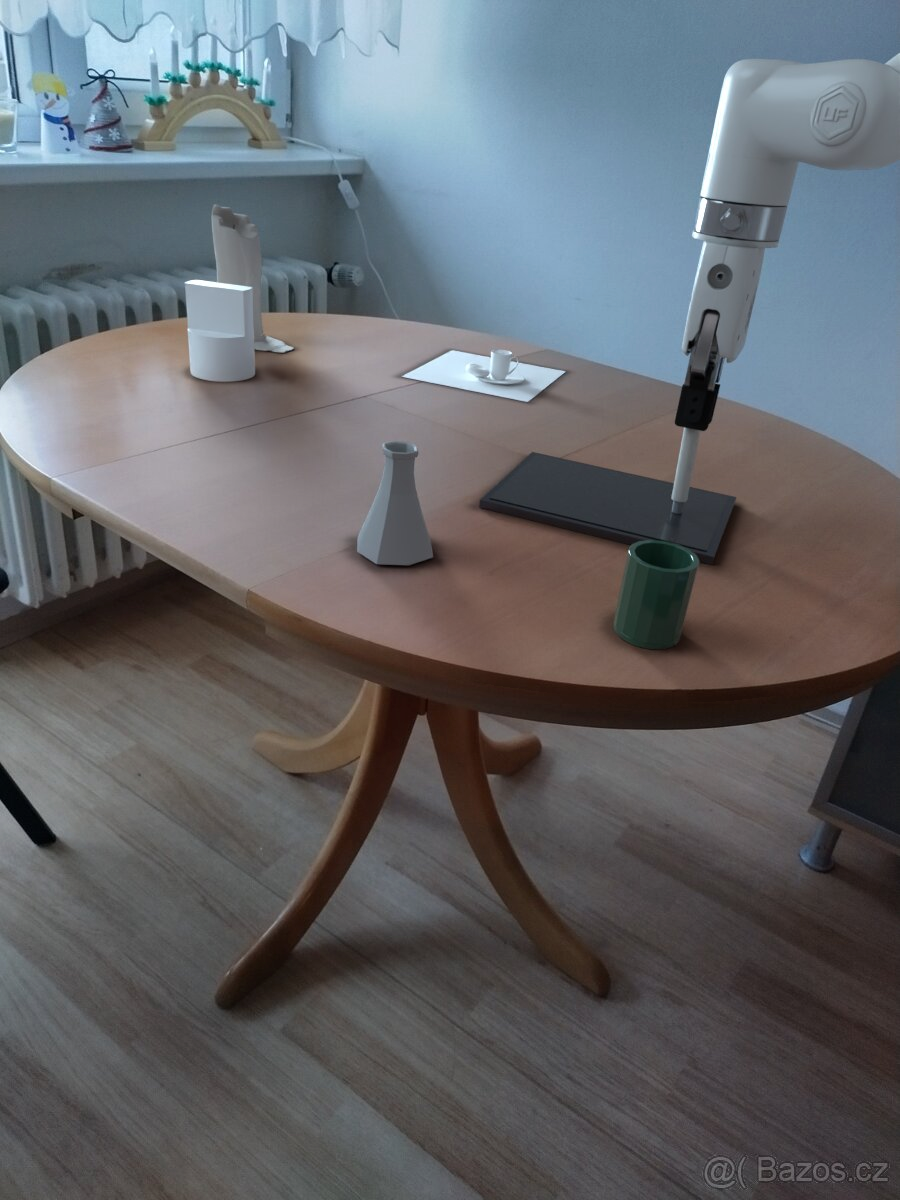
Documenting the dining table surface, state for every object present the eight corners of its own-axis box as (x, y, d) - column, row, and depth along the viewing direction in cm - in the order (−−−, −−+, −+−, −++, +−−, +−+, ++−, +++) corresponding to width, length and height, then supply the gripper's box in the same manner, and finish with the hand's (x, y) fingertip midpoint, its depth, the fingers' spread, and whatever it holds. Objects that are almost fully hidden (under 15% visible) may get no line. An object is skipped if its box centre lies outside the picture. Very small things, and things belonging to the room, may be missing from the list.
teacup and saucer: (459, 379, 130) (462, 352, 128) (478, 368, 137) (481, 342, 135) (514, 390, 128) (517, 362, 126) (531, 378, 134) (534, 351, 132)
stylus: (685, 510, 90) (713, 367, 83) (683, 516, 89) (710, 370, 82) (670, 507, 91) (696, 365, 84) (667, 513, 90) (693, 368, 82)
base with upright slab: (178, 376, 120) (172, 286, 114) (208, 360, 128) (203, 276, 122) (239, 385, 119) (235, 294, 113) (265, 369, 127) (263, 283, 121)
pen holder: (685, 625, 72) (704, 550, 68) (673, 656, 67) (692, 578, 64) (621, 608, 73) (637, 534, 70) (606, 637, 69) (621, 560, 66)
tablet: (734, 504, 96) (736, 496, 95) (711, 565, 82) (714, 555, 82) (531, 458, 103) (532, 450, 103) (478, 507, 89) (479, 498, 89)
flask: (345, 537, 81) (347, 435, 76) (416, 529, 84) (423, 430, 79) (370, 572, 75) (374, 465, 70) (446, 563, 78) (455, 458, 73)
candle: (274, 355, 134) (272, 215, 124) (208, 338, 139) (200, 203, 129) (304, 347, 139) (303, 212, 129) (239, 331, 145) (233, 201, 135)
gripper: (773, 237, 69) (719, 455, 78) (788, 222, 82) (740, 412, 91) (679, 225, 71) (638, 438, 80) (709, 213, 84) (670, 398, 93)
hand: (692, 423), depth 85 cm, fingers closed on stylus, 1 cm apart
